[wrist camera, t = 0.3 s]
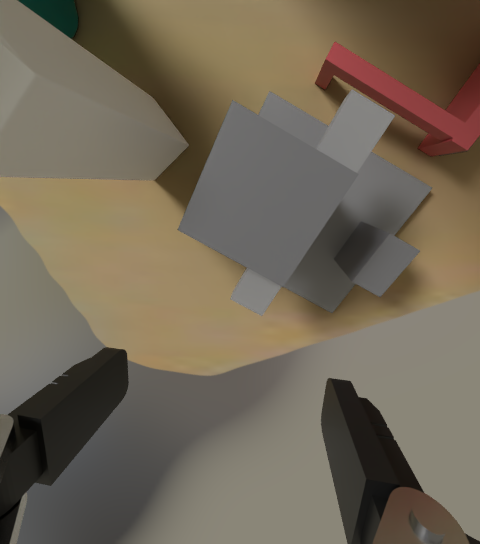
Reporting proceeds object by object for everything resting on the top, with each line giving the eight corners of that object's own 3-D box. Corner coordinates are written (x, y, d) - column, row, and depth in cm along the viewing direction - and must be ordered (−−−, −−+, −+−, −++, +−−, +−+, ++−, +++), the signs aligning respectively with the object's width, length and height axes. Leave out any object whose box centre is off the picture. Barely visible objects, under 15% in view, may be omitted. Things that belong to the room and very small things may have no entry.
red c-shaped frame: (563, -12, 20) (654, -72, 15) (433, 158, 25) (471, 152, 20) (417, -112, 19) (466, -210, 14) (313, 85, 24) (324, 62, 19)
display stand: (426, 187, 25) (588, 192, 12) (330, 309, 32) (371, 398, 19) (269, 94, 24) (266, -8, 11) (201, 239, 30) (148, 280, 17)
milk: (190, 145, 27) (-64, 28, 6) (154, 181, 29) (-133, 179, 8) (152, 96, 26) (-309, -241, 5) (117, 137, 28) (-328, 6, 7)
